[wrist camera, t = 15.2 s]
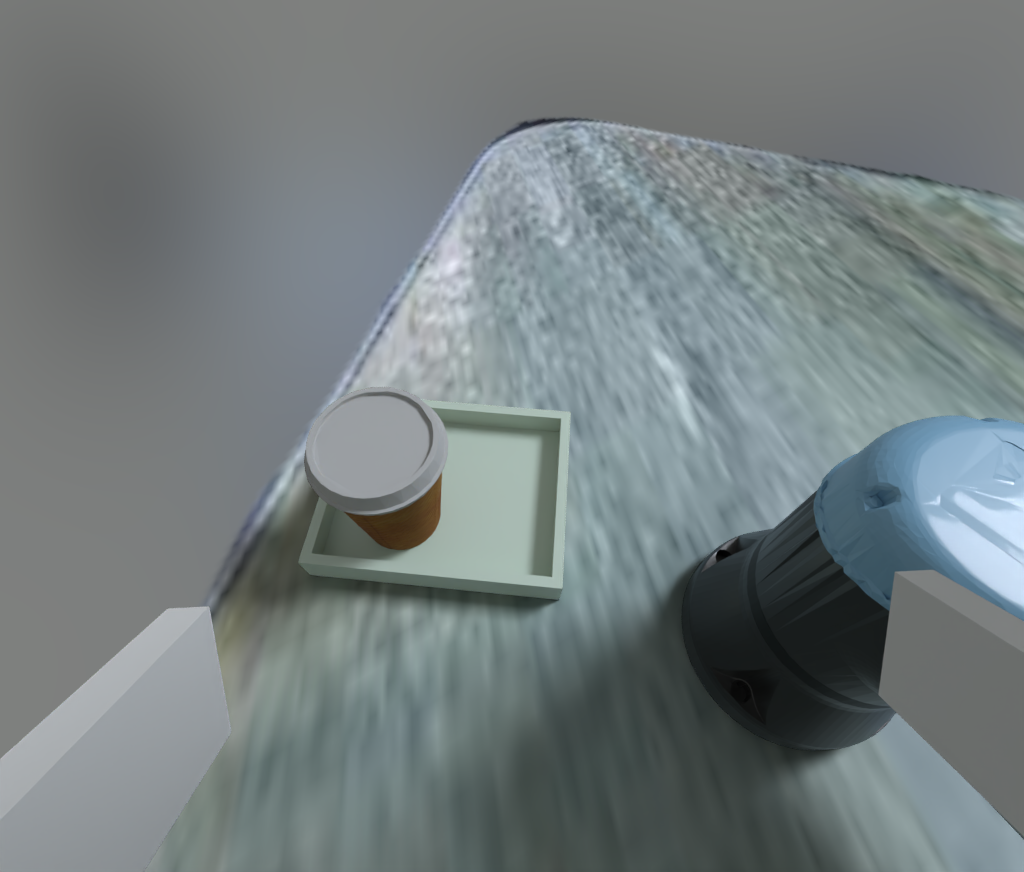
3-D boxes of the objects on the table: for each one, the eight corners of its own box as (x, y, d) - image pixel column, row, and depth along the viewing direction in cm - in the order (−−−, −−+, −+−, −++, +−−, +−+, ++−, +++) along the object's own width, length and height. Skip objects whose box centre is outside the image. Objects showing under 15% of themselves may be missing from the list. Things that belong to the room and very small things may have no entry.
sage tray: (567, 430, 50) (570, 412, 48) (559, 599, 42) (562, 588, 39) (360, 412, 51) (352, 393, 49) (310, 575, 43) (297, 562, 40)
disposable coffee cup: (400, 446, 48) (372, 360, 38) (482, 504, 45) (476, 427, 35) (321, 525, 44) (266, 451, 34) (406, 594, 41) (373, 535, 31)
